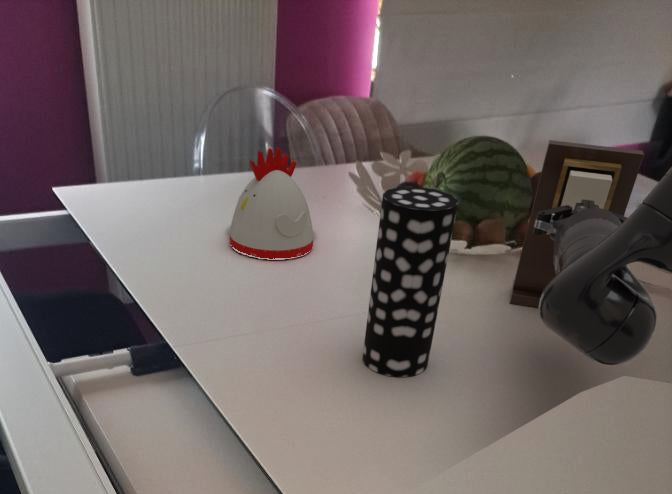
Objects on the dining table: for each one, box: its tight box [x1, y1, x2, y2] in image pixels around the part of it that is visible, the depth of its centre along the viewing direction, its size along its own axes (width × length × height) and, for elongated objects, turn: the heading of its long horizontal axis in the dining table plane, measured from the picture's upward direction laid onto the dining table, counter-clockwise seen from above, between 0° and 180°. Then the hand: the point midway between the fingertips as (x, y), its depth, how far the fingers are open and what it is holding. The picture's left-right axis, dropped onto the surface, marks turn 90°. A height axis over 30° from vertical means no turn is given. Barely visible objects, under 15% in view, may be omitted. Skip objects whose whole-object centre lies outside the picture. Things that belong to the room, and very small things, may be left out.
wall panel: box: [509, 139, 645, 309], centre depth 104 cm, size 6×12×22 cm, turn 74°
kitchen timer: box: [229, 146, 314, 259], centre depth 119 cm, size 14×14×15 cm
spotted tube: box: [362, 186, 459, 378], centre depth 88 cm, size 8×8×20 cm
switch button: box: [561, 171, 612, 210], centre depth 98 cm, size 2×5×6 cm, turn 74°
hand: (585, 207), depth 95 cm, fingers closed
